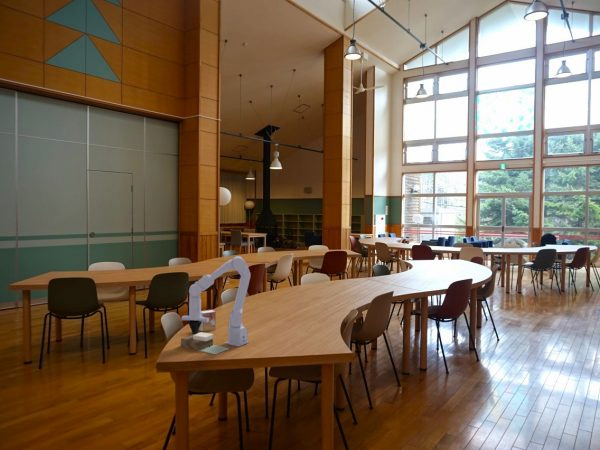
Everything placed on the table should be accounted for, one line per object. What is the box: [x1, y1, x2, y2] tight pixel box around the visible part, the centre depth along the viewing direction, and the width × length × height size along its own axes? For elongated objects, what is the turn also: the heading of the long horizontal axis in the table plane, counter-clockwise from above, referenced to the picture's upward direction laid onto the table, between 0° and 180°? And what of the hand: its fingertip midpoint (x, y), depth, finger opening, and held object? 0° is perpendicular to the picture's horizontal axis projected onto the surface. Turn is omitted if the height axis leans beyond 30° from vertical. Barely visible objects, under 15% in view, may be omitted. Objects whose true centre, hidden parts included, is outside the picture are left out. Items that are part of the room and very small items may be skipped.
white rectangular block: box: [192, 331, 215, 341], centre depth 210 cm, size 8×6×2 cm
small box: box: [198, 309, 217, 333], centre depth 241 cm, size 8×6×10 cm
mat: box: [199, 344, 230, 355], centre depth 206 cm, size 10×10×1 cm
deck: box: [180, 334, 214, 351], centre depth 212 cm, size 12×10×4 cm
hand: (195, 335), depth 213 cm, fingers closed
